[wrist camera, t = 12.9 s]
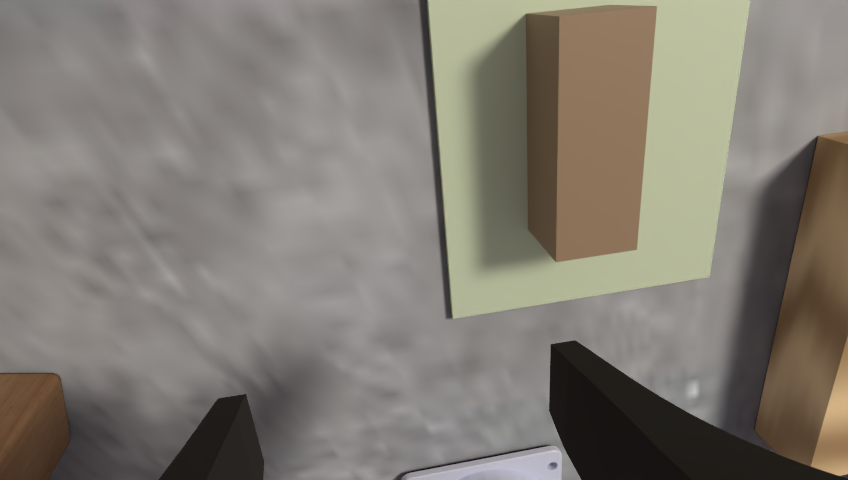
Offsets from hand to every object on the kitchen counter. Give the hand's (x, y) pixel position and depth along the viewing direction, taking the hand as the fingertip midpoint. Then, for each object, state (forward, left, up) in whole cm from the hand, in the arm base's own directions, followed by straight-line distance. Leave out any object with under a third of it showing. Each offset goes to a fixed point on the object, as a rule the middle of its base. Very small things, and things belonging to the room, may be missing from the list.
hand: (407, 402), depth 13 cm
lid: (+4, -9, -10) cm, 14 cm away
